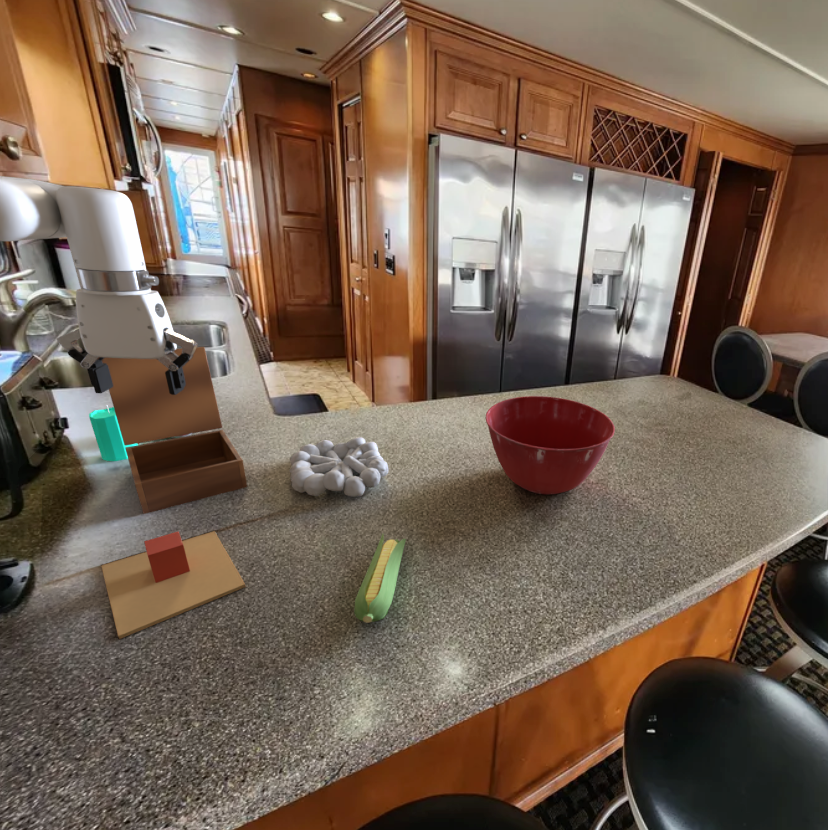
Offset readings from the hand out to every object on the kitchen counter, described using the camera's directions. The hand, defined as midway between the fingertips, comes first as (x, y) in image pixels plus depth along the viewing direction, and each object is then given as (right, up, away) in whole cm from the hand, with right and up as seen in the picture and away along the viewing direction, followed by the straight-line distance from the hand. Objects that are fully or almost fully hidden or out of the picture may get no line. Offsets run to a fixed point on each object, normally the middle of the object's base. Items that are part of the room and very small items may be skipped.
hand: (141, 391), depth 73 cm
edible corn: (+39, -30, -1) cm, 50 cm away
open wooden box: (-6, -18, +18) cm, 26 cm away
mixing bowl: (+64, -19, +33) cm, 74 cm away
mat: (+8, -28, -4) cm, 29 cm away
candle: (-26, -13, +24) cm, 37 cm away
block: (+8, -27, -4) cm, 29 cm away
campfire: (+20, -17, +25) cm, 36 cm away
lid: (-11, 0, +17) cm, 21 cm away
